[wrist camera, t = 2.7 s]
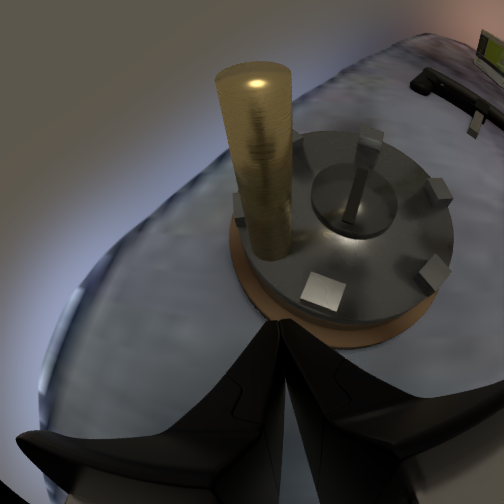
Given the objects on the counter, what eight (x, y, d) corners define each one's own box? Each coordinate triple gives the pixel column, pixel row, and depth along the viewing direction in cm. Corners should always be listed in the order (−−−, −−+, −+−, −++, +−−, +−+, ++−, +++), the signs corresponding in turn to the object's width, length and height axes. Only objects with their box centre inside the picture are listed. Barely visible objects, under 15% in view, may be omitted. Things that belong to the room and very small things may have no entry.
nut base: (412, 379, 16) (421, 378, 14) (192, 293, 21) (186, 286, 19) (440, 198, 23) (446, 189, 21) (281, 144, 28) (280, 134, 26)
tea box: (517, 95, 38) (529, 60, 25) (499, 86, 39) (511, 47, 26) (491, 71, 45) (500, 38, 32) (472, 62, 46) (480, 27, 33)
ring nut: (416, 360, 15) (584, 278, 3) (203, 278, 19) (106, 114, 7) (439, 190, 21) (494, 70, 9) (286, 139, 26) (279, 7, 14)
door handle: (509, 153, 23) (512, 116, 26) (401, 82, 31) (427, 62, 34) (500, 167, 26) (506, 128, 29) (398, 99, 34) (424, 75, 37)
